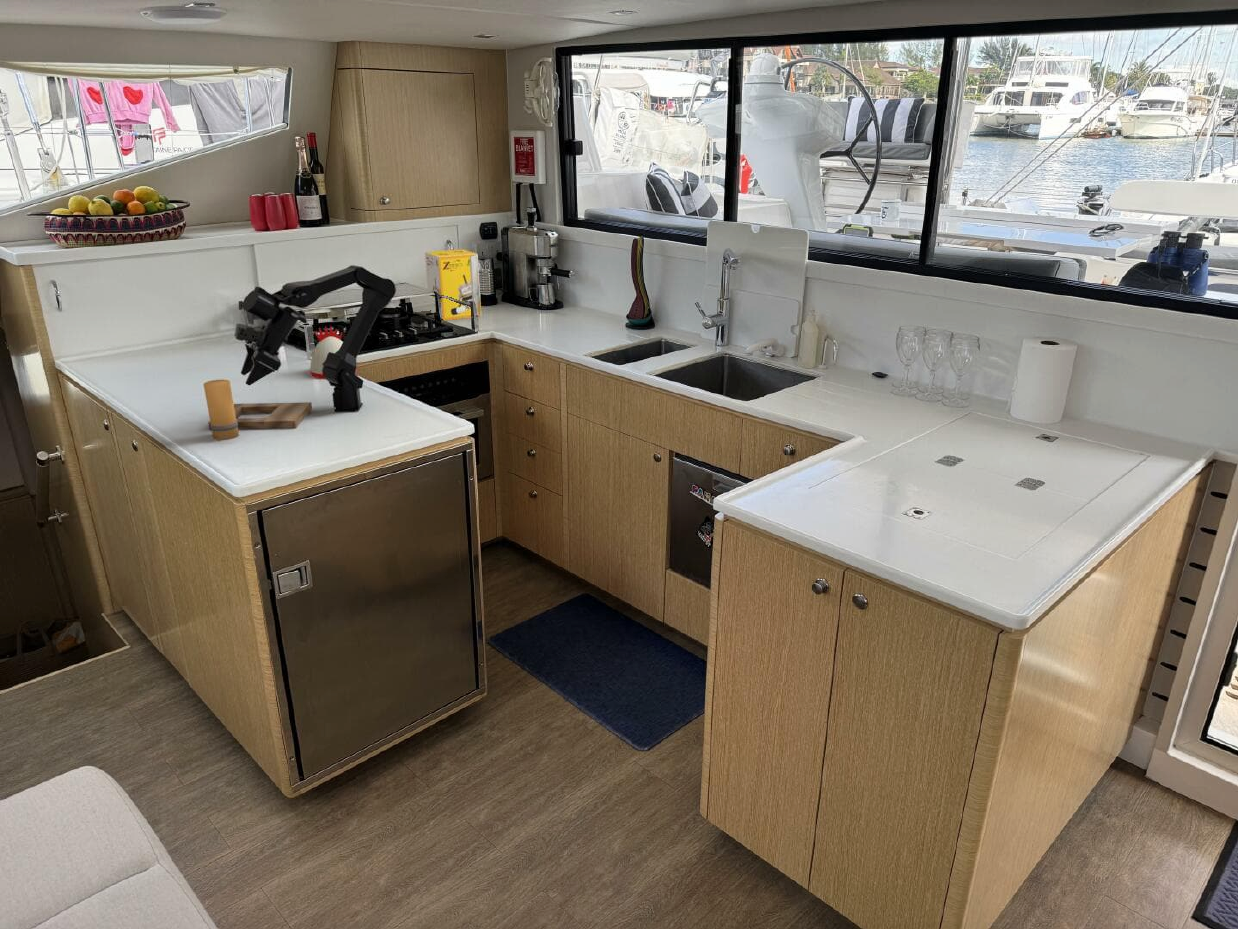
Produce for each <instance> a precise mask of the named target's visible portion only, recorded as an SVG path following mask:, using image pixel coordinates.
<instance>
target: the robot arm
mask: <svg viewBox="0 0 1238 929" xmlns="http://www.w3.org/2000/svg"><path fill="white" fill-rule="evenodd" d="M353 284H356V285H358V287H360V288H362V294H361V296H362V298H361V299H362V303H361V306H360V308H359V309H358V311H357V313H356V315H355V318H354V319H353V321H352V324H351V326H350V328H349V330H348V332H347V334H346V335H345V338H344V339H343V341H342V342H343V343H342V345H341V347H340V349H339V350H338V351H337V352H336V353H332V352H329V353H328V355H327V358H326V360H325V362H324V363H323V364H322V365H323V369H322V373H323V376H324V378H325V379H324V380H326V381H327V382H328V384H329V385H330V386H331V387H333V393H332V395H331V396H332V401H333V403H332V404H333V408H334V412H336V413H337V412H342V413H343V412H359V411H360V410H361V408H362V407H363V404H364V403H363V402H362V400H361V394H360V393H361V391H360V389H362V388H363V386H364V379H362V377H361V378H360V377H359V376H358V375H357V374H356V373H357V372H356V368H357V357H358V355H359V353H360V351H361V348H363V345H364V343H365V341H366V339H367V336H368V334H369V333H370V331H371V329H372V327H373V325H374V322H375V321H376V318H378V315H379V312H380V311H382V310H383V309H384V308H386V307H387V306H388V305H389V304H390V302H392V299H393V298H394V297H395V295H396V292H397V288H396V285H395V283H394V281H393V280H392V279H390V278H387V277H386V278H385V277H381V276H379V275H377V274H375V273H373V272H371V271H369V270H367V269H366V268H365V267H363V266H358V265H354V264H353V265H349V266H348V267H346V268H343V269H340V270H338V271H334V272H332V273H329V274H326V275H324V276H320V277H318V278H315V279H311V280H301V281H293V282H286V283H285V284H284V285H282V288H281V289H279V290H277V291H275V292H273V293H270V292H268V291H266V290H265V288H262V287H261V286H255V287H254V289H253V290H251V291H250V292H249V293H248V294H247V295H246V296H245V297H244V299H243V302H242V309H243V310H244V311H245V312H247V313H248V314H250V315H253V316H255V317H256V318H259V319H260V320H262V321H264V322H267V321H268V322H267V323H264V324H262V325H261V326H260V327H256V326H252V325H247V324H243V323H236V324H235V325H236V327H235V330H234V337H235V339H236V340H237V341H244V346H245V349H246V356H245V359H244V362H243V365H242V368H241V371H240V374H241V375H242V376H246V375H247V374H248V376H247V378H246V380H245V384H246V385H247V386H251V385H253V384H254V383H257V382H258V381H259V380H261V379H262V378H265V377H266V376H268V375H270V374H272V373H275V372H276V371H277V372H278V371H279V369H280V368H281V366H282V362H281V359H280V358H279V354H280V353H279V351H280V348H282V346H283V345H284V343H285V344H287V342H288V341H289V340H288V337H289V335H290V333H292V330H293V329H294V328H295V326H296V324H297V323H298V322H299V321H300V322H301V323H303V324H307V319H306V318H307V317H306V312H304V311H303V310H301V309H305V308H307V307H310V305H312V304H314V303H315V302H317V301H318V299H320V298H321V297H322V296H324V295H326V294H329V293H332V292H335V291H337V290H339V289H342V288H346V287H348V286H351V285H353ZM281 305H285V306H284V307H283V306H281ZM292 307H295V308H300V310H296V309H294V308H292ZM355 372H356V373H355Z"/></svg>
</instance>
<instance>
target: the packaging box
mask: <svg viewBox="0 0 1238 929" xmlns="http://www.w3.org/2000/svg"><path fill="white" fill-rule="evenodd" d="M424 255H425V256H424V258H425V269H426V281H427V290H428V289H431V290H433V291H436V292H437V293H438V294H439V295H444V296H448V297H452V298H454V299H457V300H460V301H468V302H469V301H474V302H475V304H476V308H477V315H478V317H482V305H481V304H482V303H481V288H480V287H481V286H480V272H479V271H480V270H479V258H478V255H479V254H477V253H476V252H473V251H469V250H466V249H464V248H463V249H451V250H450V249H449V250H437V251H425V252H424ZM440 303H441V315H442V319H443V320H444V321H443V320H442V321H443V322H445V321H450V320H451V321H453V320H461V319H468V318H470V319H471V318H472V317H471V309H470V307H469V306H467V305H462V304H459V303H456V302H454V301H451V300H449V299H446V298H441V300H440ZM478 317H477V318H478Z"/></svg>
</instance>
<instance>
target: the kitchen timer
mask: <svg viewBox="0 0 1238 929" xmlns="http://www.w3.org/2000/svg"><path fill="white" fill-rule="evenodd" d="M318 331H319V334H317V332H314V334H315V337H317V339H318V340H319V341H318V343H317V344H316V345H315V347H314V350H313V351H312V352H311V355H312V356H311V360H310V366H309V367H310V376H311V375H312V376H313V377H312V376H311V377H312V378H314V377H315V379H319V380H326V379H325V378H324V376H323V373H322V369H323V365H322V364H323V363H324V362H325V360H326V358H327V355H328V353H329V352H332V353H336V352H337V351H338V350H339V349H340V347H341V345H342V343H343V341H342V340H341V339H342V337H343V332H340V334H339V335H338V329H337V328H335V330H334V331H333V327H332V326H331V325H330V327H329V330H328V328H327V326H325V327H324V332H323V331H322V329H321V328H320V327H319V328H318ZM357 373H358V369H357V368H356V372H355V374H357Z"/></svg>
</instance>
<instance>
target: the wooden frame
mask: <svg viewBox="0 0 1238 929" xmlns="http://www.w3.org/2000/svg"><path fill="white" fill-rule="evenodd" d="M234 409H235V415H236V420H237V421H238V430H262V429H265V430H266V429H267V430H269V429H271V430H272V429H273V430H275V429H296V428H298V427H299V425H300V424H301V423H302V422H303V421H304V420H305V418H306V417H307V416H308V415H309V414H310V413H311V411H312V410H313V403H312V402H310V401H309V402H308V401H307V402H305V401H304V402H261V403H260V402H257V403H255V402H254V403H234ZM250 414H252V415H254V414H255V415H257V414H259V415H260V414H269V415H268V416H267V417H248V418H247V417H243V418H241V416H242V415H250ZM210 423H211V422H210V420H209V421H208V423H207V424H208V429H209V431H212V430H211V427H210Z"/></svg>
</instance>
